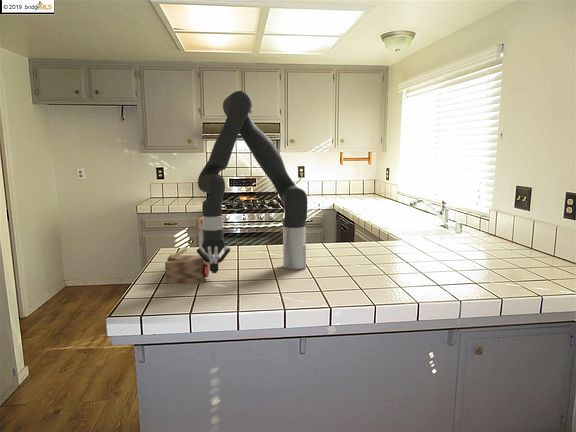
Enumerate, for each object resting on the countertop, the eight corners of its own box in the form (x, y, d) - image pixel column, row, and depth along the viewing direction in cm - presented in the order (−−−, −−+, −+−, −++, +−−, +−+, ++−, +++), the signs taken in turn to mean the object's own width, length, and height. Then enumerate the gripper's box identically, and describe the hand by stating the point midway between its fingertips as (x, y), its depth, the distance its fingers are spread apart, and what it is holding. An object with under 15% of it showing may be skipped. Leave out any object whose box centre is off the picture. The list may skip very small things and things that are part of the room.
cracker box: (213, 268, 168) (211, 218, 164) (199, 267, 169) (197, 218, 165) (225, 259, 181) (223, 213, 178) (212, 258, 182) (210, 212, 179)
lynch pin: (209, 274, 157) (209, 261, 156) (207, 279, 152) (206, 265, 151) (169, 275, 157) (169, 262, 156) (166, 279, 151) (165, 266, 151)
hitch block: (206, 275, 159) (206, 255, 158) (201, 283, 149) (200, 262, 148) (173, 275, 159) (172, 255, 158) (166, 283, 149) (164, 262, 148)
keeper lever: (187, 249, 154) (185, 246, 154) (185, 252, 150) (183, 249, 150) (171, 258, 155) (169, 255, 155) (168, 261, 151) (166, 258, 151)
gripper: (232, 225, 155) (233, 269, 157) (197, 225, 154) (199, 269, 157) (229, 229, 147) (230, 275, 150) (192, 229, 147) (194, 275, 150)
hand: (214, 272), depth 154 cm, fingers closed
